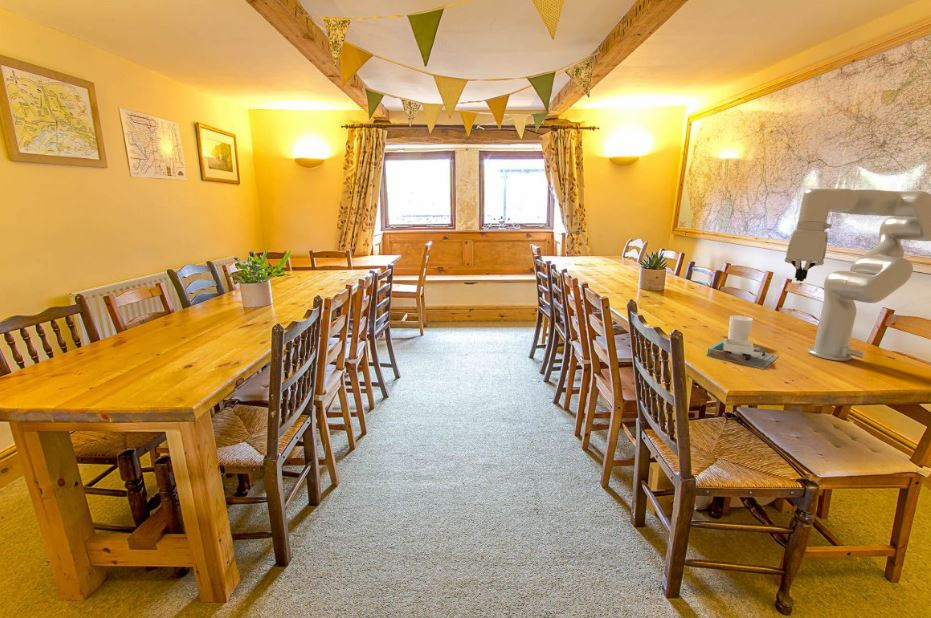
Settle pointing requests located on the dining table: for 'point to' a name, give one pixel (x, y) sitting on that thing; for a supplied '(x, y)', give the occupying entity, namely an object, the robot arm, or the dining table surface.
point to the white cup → (739, 327)
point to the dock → (741, 357)
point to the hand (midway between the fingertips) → (799, 280)
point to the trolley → (741, 348)
